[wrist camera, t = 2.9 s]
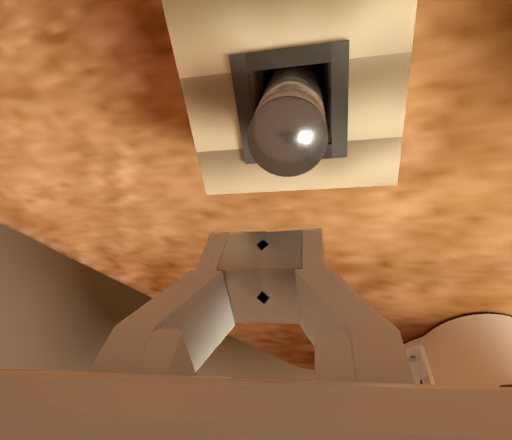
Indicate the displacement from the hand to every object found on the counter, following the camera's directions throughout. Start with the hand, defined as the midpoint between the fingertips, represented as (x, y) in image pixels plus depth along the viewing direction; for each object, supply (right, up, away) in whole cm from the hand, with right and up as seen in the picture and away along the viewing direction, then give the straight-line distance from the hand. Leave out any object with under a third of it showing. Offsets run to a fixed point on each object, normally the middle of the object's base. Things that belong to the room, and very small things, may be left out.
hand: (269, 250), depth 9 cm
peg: (+2, +10, +16) cm, 19 cm away
